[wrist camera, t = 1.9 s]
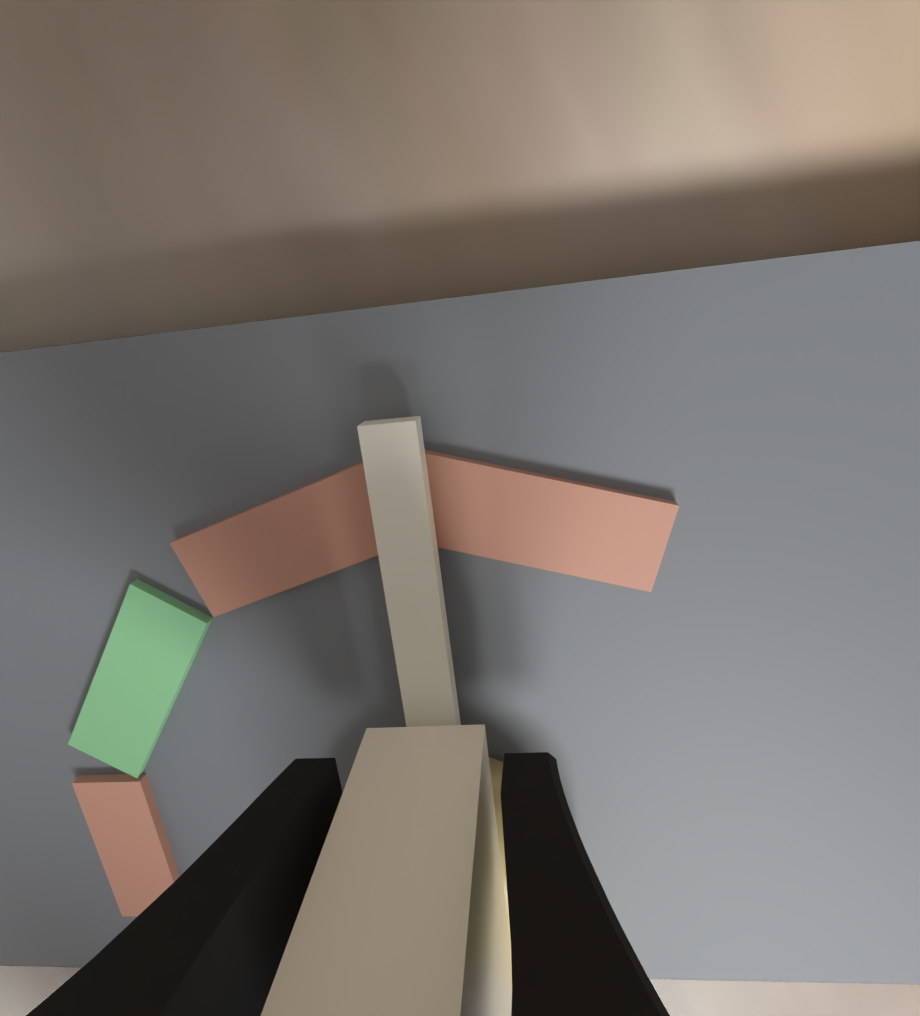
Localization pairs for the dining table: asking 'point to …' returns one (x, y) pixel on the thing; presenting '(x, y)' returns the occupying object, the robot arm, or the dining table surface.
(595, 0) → the dining table surface
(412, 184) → the dining table surface
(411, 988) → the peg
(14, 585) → the tuner board
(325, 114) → the dining table surface
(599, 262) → the dining table surface
